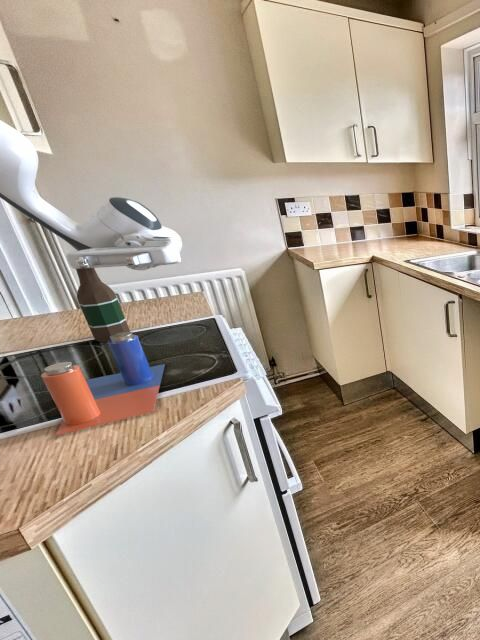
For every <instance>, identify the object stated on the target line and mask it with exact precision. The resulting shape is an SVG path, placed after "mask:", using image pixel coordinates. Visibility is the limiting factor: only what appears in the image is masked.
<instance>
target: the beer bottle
mask: <svg viewBox="0 0 480 640" xmlns="http://www.w3.org/2000/svg"><path fill="white" fill-rule="evenodd" d="M75 271H76V274H77V277H78V280H79V286H78V289H77V291H76V299H77V302H78V305H79V308H80V310H81V312H82V314H83V316H84V319H85V321H86V323H87V325H88V328H89V330H90V332H91V334H92V336H93V338H94V340H95V341H96V342H99V343H108V341H109V340H111V338H110V336H112V335H114V334H117V333H122V332H131V330H130V326H129V325H128V322H127V319H126V316H125V314H124V311H123V309H122V307H121V305H120V302H119V299H118V297H117V294H116V293H115V291H114V290H113V289H112V288H111V287H110V286H109V285H107V284H106V283H104V282H103V281H102V280H101V278H100V277H99V275H98V273H97V271H96V268H83V269H75Z"/></svg>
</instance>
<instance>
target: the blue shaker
mask: <svg viewBox="0 0 480 640" xmlns="http://www.w3.org/2000/svg"><path fill="white" fill-rule="evenodd" d="M110 338H111V340H109V341H108V342H107V345H108V348H109V349H110V352H111V353H112V356H113V359H114V361H115V364H116V366H117V368H118V371H119V373H121V376H122V378H123V381H124V383H125V385H138V384H142V383H145V382H148V381H150V380H151V379H153V377H154V376H153V374H152V371H151V369H150V367H151V366H150V364H149V361H148V358H147V356H146V353H145V351H144V349H143V345H142V343H141V341H140V338H139V336H138V335H137V334H133V332H132V331H130V332H122V333H117V334H114V335H112V336H110Z"/></svg>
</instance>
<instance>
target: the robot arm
mask: <svg viewBox="0 0 480 640" xmlns="http://www.w3.org/2000/svg"><path fill="white" fill-rule="evenodd" d="M39 164H40V163H39V155H38V152H37V149H36V147H35V146H34V144H33V143H32V141H31V140H30V139H29V138H28V137H27V136H26V135H24V134H23V133H22V132H20V131H19V130H17V129H15V128H14V127H13V126H11V125H10V124H8V123H6V122H5V121H3V120H1V119H0V199H2V200H3V201H4V202H5V203H7V204H9V205H10V206H11V207H13V208H14V209H16V210H17V211H19V212H20V213H22V214H23V215H25V216H27V217H28V218H30V219H31V220H33V221H34V222H36V224H37V223H38V224H39V225H40V226H42V227H43V228H45V229H47V230H48V231H50V232H52V233H53V234H54V235H55V236H58V237H59V238H60V239H62V240H64V242H66V243H67V244H69V245H70V246H71V247H72V248H73V249H74V250H75V251H71V252H68V253H67V252H66V255H65V257H66V259H67V262H68V264H69V266H70V268H72V269H73V270H76V269H83V268H94V269H99V268H114V267H126V268H128V269H131V270H134V271H146V270H150V269H152V268H153V269H154V268H157V267H160V266H166V265H175V264H180V263H182V258H181V251H182V249H183V240H182V237H181V236H180V234H178V233H177V231H175V230H173V229H172V228H169V227H166V226H164V225H162V224H161V222H160V220H159V218H158V217H157V216H156V215H155V214H154V212H152V210H150V209H149V208H148V207H147V206H145V204H142V203H140V202H139V201H136V200H133V199H130V198H125V197H119V196H115V197H110V198H109V199H108V200H106V202H104V203H103V204H102V205H101V206H100V207H98V209H97V210H96V211H95V212H94V213H93V214H92V215H91V216H89V218H87V219H86V221H84V222H77V221H75V220H73V218H70V217H69V216H68V215H67V214H65V213H63V212H62V211H61V210H59V209H57V208H56V207H54V206H53V205H52V204H50V203H49V202H48V201H46V200H45V199H44V198H42V197H41V196H40V195H39V193H38V191H37V188H36V178H37V174H38V171H39V170H38V169H39Z"/></svg>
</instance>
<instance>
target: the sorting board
mask: <svg viewBox="0 0 480 640" xmlns="http://www.w3.org/2000/svg"><path fill="white" fill-rule="evenodd" d="M165 366H166V364H165V363H163V364H158V365H154V366H153V365H152V366H150V369H151V371H152V374H153V376H154V377H153V379H151V380H150V381H148V382H145V383H142V384H138V385H125V383H124V381H123V378H122V376H121V373H120V372H117V373H114V374H113V373H112V374H108V375H103V376H99V377H94V378H93V377H92V378H88V379H86V381H87V383H88V386H89V388H90V390H91V392H92V394H93V396H94V399H95V401H96V403H97V405H98V407H99V409H100V412H101V414H100V415H99V416H98V417H96V418H94V419H92V420H90V421H88V422H85V423H81V424H76V425H67V424H65V422H64V420H63V419H62V422H61V424H60V425H59V427H58V429H57V430H56V432H55V434H54V437H56V436H60V435H64V434H68V433H72V432H77V431H80V430H81V431H82V430H85V429H89V428H93V427H96V426H97V427H98V426H101V425H105V424H109V423H114V422H118V421H122V420H125V419H130V418H134V417H138V416H143V415H147V414H150V413H154V411H155V407H156V402H157V398H158V395H159V390H160V387H161V382H162V378H163V374H164V371H165Z"/></svg>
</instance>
